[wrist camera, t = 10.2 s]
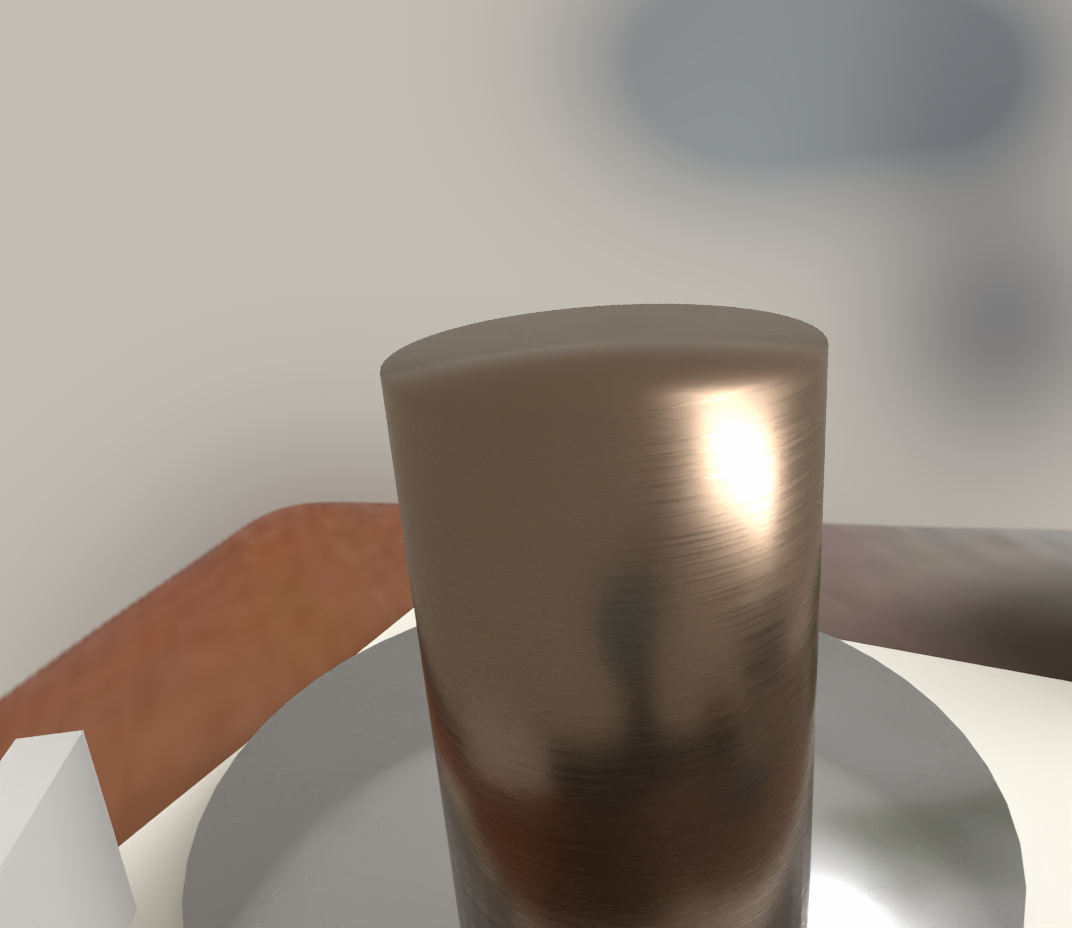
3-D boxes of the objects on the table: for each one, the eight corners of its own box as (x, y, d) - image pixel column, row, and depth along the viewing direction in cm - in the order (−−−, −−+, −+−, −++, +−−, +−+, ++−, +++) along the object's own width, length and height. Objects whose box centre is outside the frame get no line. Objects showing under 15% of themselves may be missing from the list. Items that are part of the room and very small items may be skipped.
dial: (282, 651, 28) (201, 258, 23) (820, 593, 28) (833, 201, 24) (32, 1348, 12) (-359, 506, 8) (1278, 1173, 12) (1549, 316, 8)
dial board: (1085, 732, 24) (1094, 676, 24) (1155, 2062, 8) (1191, 1991, 7) (464, 606, 33) (459, 562, 33) (-91, 1092, 17) (-122, 1025, 17)
